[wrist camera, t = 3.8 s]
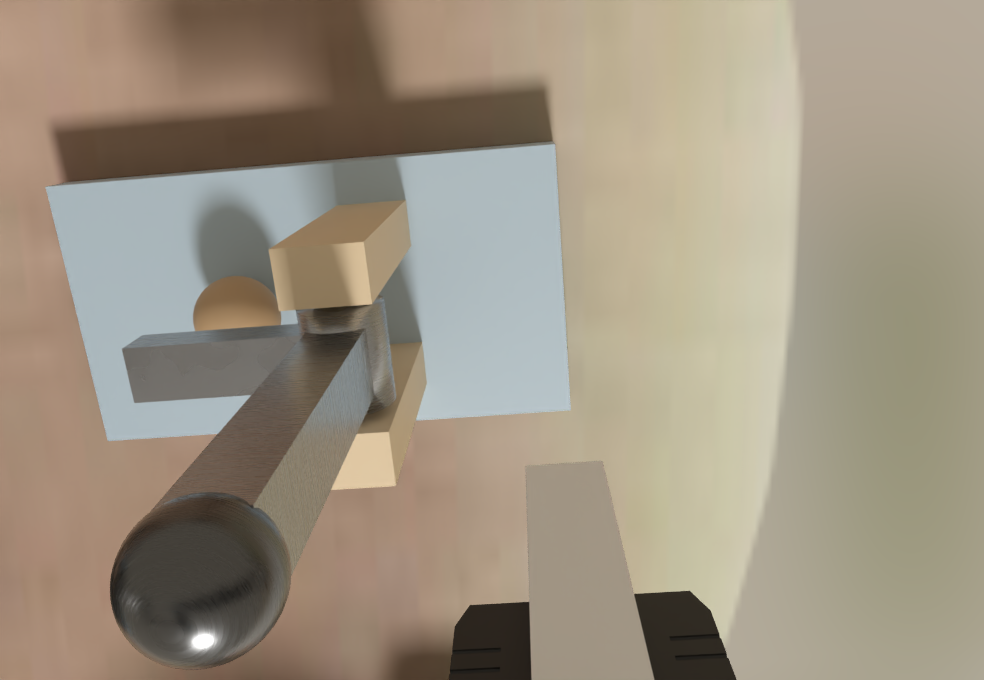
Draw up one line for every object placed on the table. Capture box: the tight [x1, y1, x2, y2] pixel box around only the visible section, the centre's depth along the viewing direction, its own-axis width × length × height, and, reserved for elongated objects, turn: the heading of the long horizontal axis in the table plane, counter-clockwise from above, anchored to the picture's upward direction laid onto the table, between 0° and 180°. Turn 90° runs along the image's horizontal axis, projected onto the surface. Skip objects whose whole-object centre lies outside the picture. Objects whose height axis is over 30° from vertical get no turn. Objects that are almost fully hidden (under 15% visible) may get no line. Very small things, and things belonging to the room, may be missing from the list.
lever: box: [110, 295, 396, 670], centre depth 22 cm, size 9×4×17 cm, turn 95°
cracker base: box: [46, 141, 571, 490], centre depth 32 cm, size 22×12×12 cm, turn 95°
